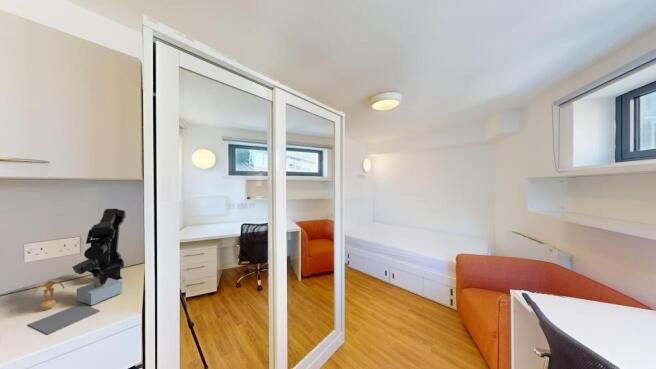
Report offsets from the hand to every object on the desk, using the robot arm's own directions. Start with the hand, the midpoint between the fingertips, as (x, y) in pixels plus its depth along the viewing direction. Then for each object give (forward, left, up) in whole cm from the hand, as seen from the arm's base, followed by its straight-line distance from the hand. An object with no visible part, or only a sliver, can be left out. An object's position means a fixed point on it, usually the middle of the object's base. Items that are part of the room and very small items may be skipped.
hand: (100, 283), depth 96 cm
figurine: (+12, -10, -7) cm, 17 cm away
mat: (+13, +6, -7) cm, 16 cm away
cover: (0, 0, -6) cm, 6 cm away
